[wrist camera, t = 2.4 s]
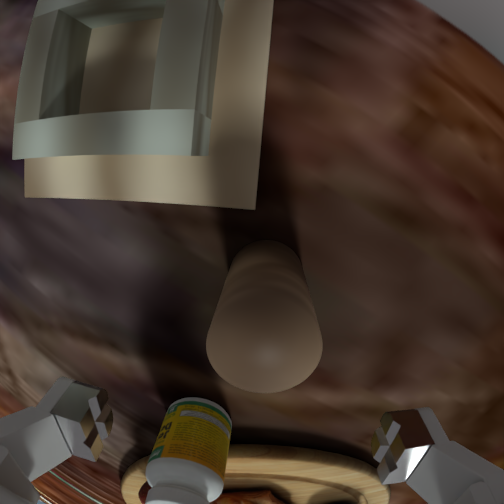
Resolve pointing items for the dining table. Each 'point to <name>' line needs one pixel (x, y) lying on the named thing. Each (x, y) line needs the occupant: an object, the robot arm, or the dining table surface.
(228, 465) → the wooden plate with food
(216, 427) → the supplement bottle
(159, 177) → the socket board
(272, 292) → the peg
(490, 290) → the dining table surface
